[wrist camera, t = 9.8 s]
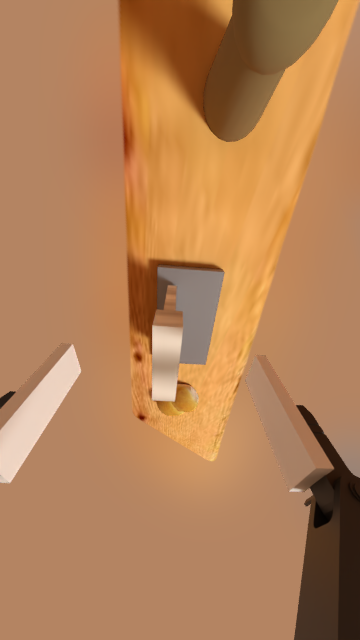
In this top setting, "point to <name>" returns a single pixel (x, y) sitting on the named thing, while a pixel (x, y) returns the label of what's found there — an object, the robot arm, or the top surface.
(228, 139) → the olive mushroom
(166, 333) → the gate
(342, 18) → the top surface
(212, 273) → the board
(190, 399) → the bread roll
